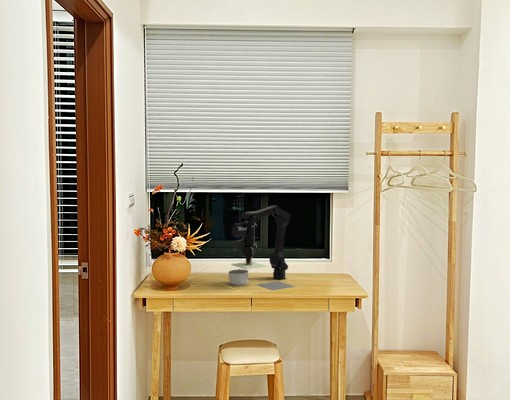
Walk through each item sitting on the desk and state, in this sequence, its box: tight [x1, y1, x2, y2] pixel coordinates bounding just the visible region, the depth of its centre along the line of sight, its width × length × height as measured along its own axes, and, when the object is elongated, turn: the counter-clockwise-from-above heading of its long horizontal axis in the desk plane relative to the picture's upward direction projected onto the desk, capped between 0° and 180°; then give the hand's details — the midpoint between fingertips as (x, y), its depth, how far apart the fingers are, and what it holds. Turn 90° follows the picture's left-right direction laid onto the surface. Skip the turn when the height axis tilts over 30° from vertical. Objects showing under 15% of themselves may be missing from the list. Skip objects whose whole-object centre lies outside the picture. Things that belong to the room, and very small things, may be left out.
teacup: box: [228, 268, 249, 287], centre depth 322 cm, size 14×11×8 cm
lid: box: [231, 257, 267, 270], centre depth 320 cm, size 14×14×5 cm
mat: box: [255, 280, 297, 291], centre depth 318 cm, size 16×16×1 cm
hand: (248, 263), depth 320 cm, fingers closed on lid, 3 cm apart
